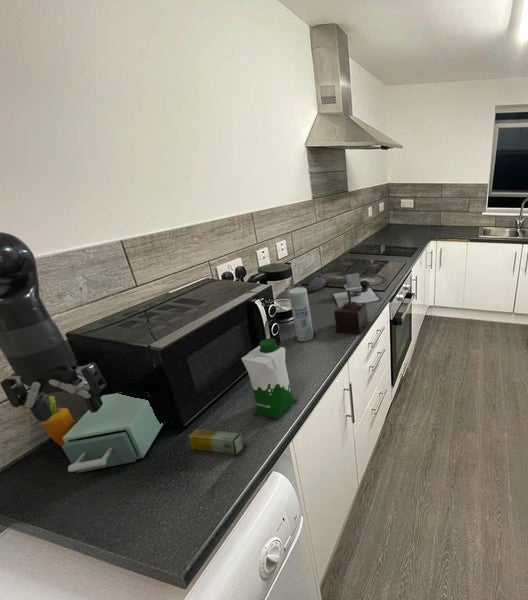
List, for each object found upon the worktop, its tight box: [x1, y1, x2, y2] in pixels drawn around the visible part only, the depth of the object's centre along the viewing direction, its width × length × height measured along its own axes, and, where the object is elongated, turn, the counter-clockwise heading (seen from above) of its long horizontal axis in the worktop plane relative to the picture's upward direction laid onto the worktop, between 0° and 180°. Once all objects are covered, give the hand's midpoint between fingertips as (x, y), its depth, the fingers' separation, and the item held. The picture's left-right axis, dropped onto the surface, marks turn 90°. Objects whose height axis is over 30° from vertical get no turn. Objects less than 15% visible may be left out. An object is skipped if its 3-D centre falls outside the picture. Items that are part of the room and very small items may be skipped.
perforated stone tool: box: [307, 273, 326, 293], centre depth 176 cm, size 15×5×7 cm, turn 158°
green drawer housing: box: [62, 392, 164, 460], centre depth 79 cm, size 15×13×10 cm
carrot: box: [40, 395, 76, 447], centre depth 76 cm, size 5×5×15 cm
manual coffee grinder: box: [333, 279, 370, 335], centre depth 133 cm, size 16×11×18 cm
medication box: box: [188, 428, 244, 456], centre depth 76 cm, size 12×3×4 cm, turn 82°
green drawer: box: [61, 430, 138, 474], centre depth 75 cm, size 18×11×8 cm, turn 14°
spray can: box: [288, 286, 314, 342], centre depth 123 cm, size 6×6×20 cm
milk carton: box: [240, 337, 295, 420], centre depth 86 cm, size 9×9×20 cm
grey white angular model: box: [332, 272, 381, 307], centre depth 163 cm, size 19×21×12 cm
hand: (72, 414), depth 65 cm, fingers open, 8 cm apart
